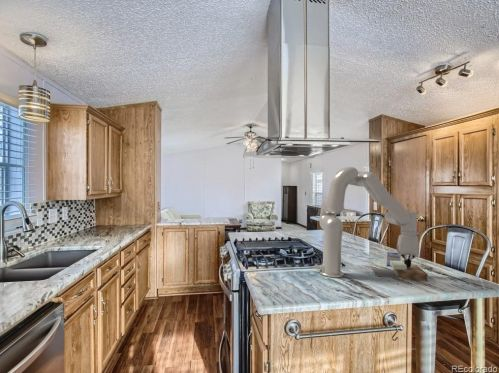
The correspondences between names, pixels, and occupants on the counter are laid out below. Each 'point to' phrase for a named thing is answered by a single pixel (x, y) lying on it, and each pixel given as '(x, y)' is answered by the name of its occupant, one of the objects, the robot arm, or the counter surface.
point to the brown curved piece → (412, 273)
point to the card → (398, 265)
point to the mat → (385, 273)
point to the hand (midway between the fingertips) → (407, 266)
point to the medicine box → (391, 257)
